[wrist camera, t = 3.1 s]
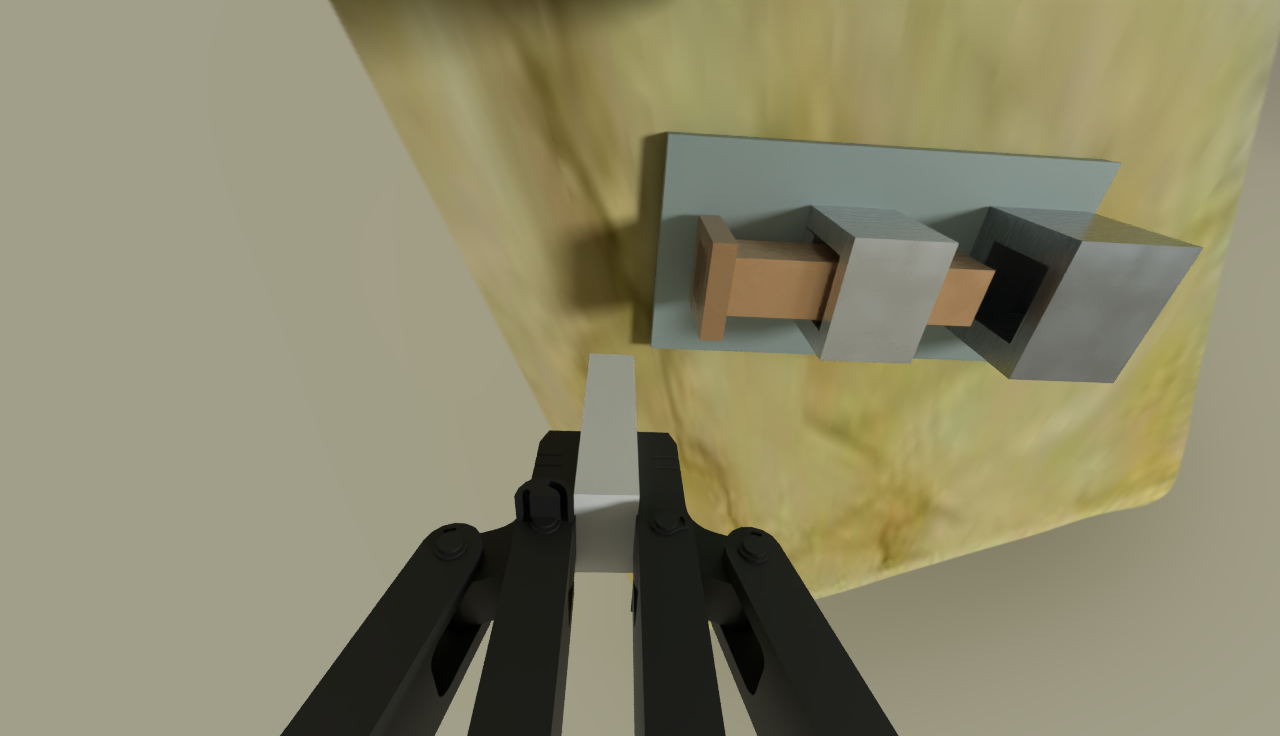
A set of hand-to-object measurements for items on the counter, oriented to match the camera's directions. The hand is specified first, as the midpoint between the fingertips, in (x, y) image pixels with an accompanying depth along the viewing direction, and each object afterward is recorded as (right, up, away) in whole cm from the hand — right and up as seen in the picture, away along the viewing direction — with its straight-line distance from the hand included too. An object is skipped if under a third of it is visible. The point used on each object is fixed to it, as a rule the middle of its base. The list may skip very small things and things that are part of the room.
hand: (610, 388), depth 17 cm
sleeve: (+13, +7, +13) cm, 20 cm away
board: (+15, +8, +14) cm, 22 cm away
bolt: (+12, +7, +12) cm, 18 cm away
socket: (+24, +7, +13) cm, 28 cm away
